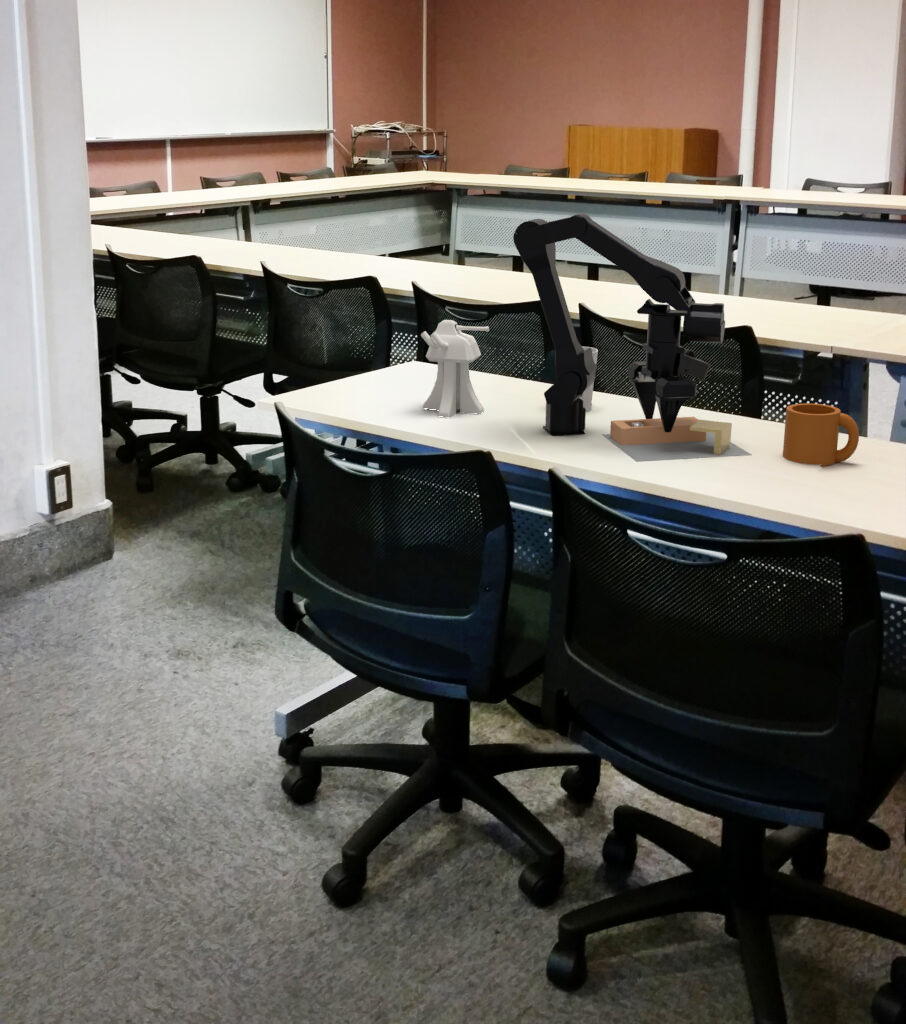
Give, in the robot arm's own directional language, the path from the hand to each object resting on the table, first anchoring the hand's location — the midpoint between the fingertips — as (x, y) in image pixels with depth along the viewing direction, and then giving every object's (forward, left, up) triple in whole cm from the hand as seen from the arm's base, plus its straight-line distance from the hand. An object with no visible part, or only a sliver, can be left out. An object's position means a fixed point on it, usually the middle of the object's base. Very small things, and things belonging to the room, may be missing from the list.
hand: (658, 425), depth 215 cm
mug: (+22, -18, -3) cm, 29 cm away
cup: (-7, +27, -3) cm, 28 cm away
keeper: (+6, -8, -2) cm, 10 cm away
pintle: (-4, 0, -2) cm, 5 cm away
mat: (+2, -4, -3) cm, 5 cm away
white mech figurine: (-31, +30, -3) cm, 43 cm away
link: (0, 0, -2) cm, 2 cm away
